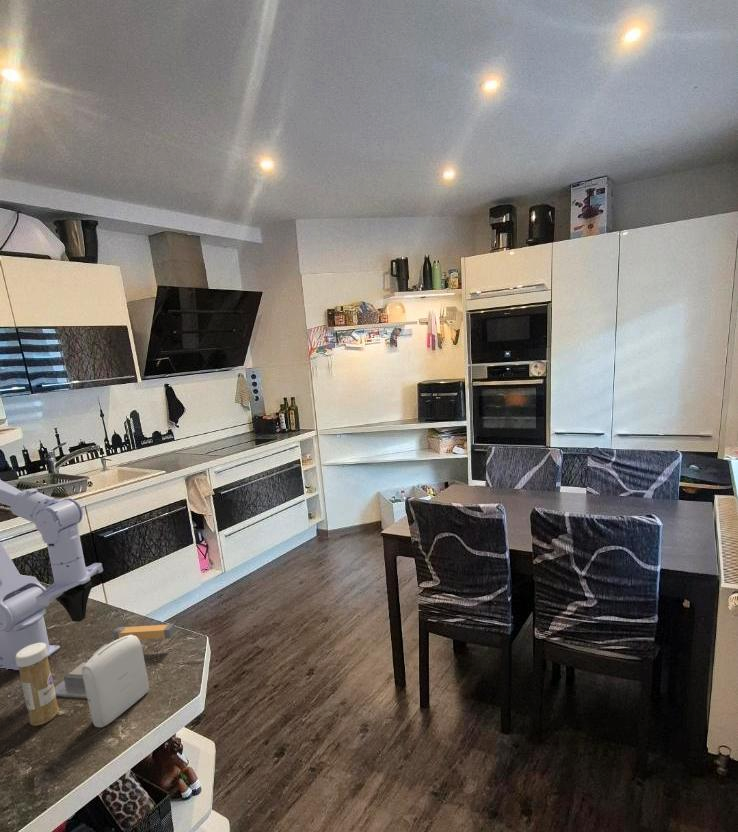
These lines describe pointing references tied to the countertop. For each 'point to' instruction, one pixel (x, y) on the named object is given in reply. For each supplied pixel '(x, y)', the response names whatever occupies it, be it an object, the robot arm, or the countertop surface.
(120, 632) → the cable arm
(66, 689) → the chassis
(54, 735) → the countertop surface
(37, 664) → the sprinkles bottle
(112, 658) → the photo printer
